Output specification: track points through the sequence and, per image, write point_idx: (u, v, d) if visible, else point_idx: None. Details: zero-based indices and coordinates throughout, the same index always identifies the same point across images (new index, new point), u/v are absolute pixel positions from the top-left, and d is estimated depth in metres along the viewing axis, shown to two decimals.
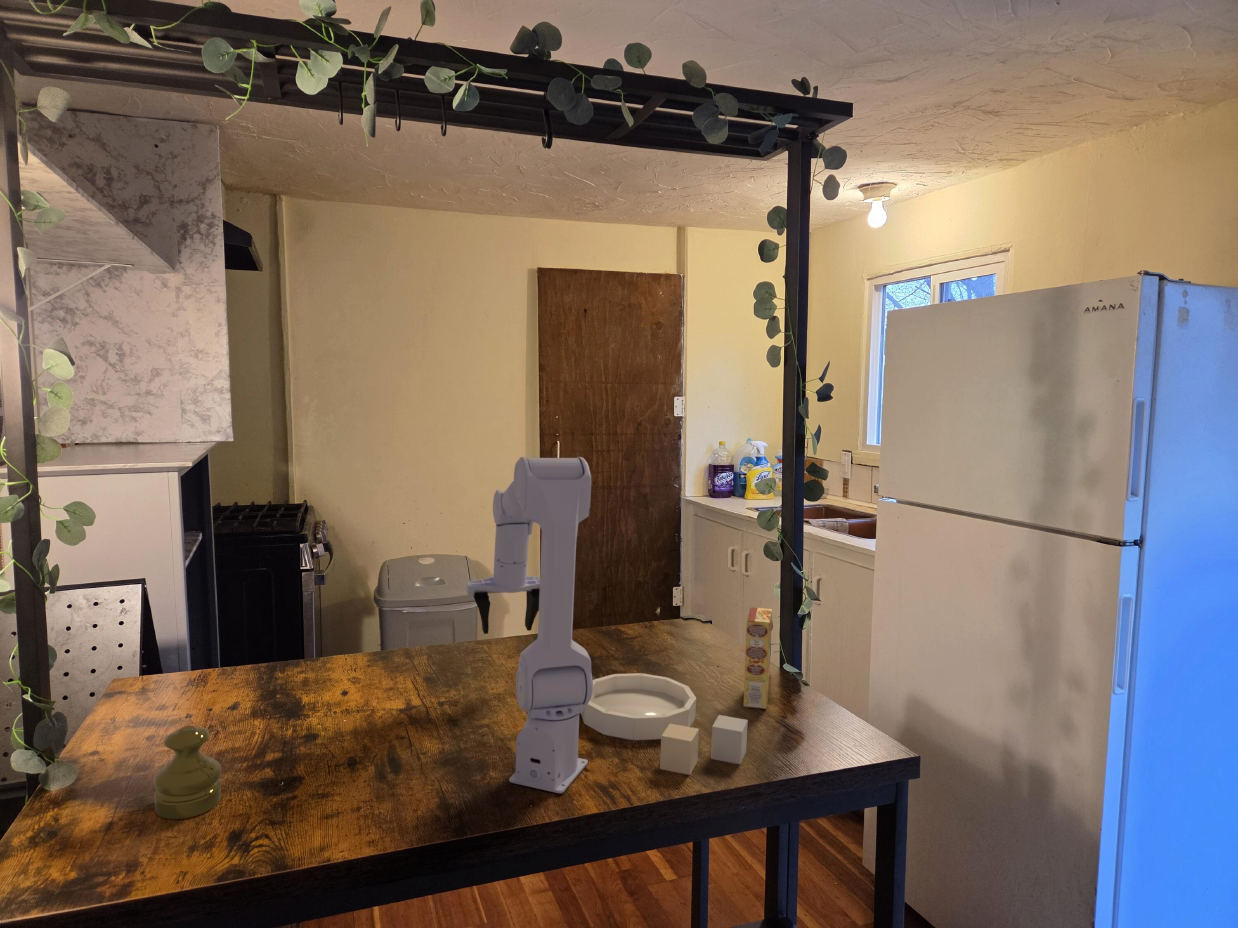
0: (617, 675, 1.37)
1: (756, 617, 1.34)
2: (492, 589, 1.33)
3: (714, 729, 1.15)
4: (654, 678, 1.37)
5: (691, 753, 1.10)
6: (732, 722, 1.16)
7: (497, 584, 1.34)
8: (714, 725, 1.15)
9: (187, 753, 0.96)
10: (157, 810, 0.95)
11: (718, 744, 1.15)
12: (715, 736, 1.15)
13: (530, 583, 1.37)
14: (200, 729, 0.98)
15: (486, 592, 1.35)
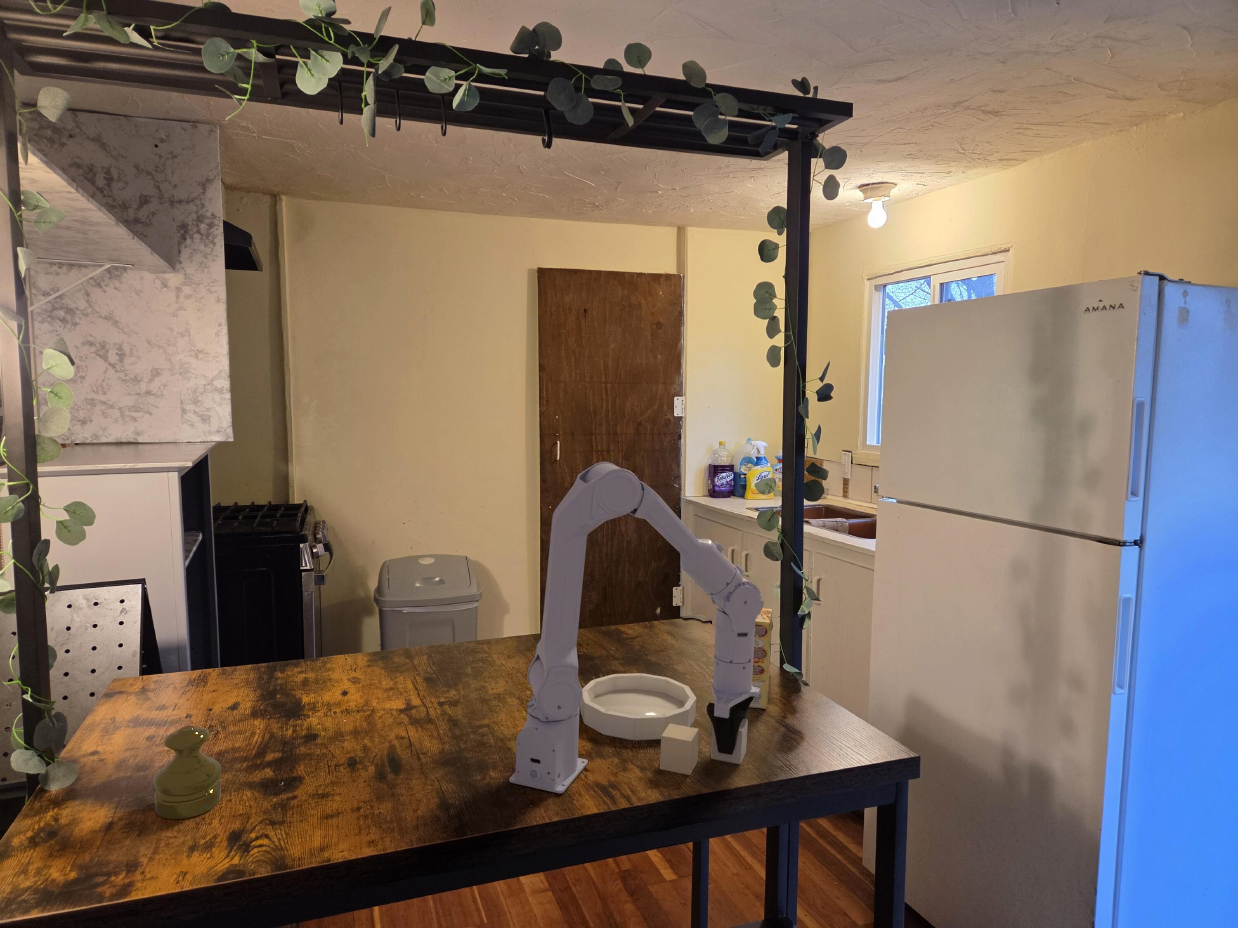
0: (617, 675, 1.37)
1: None
2: None
3: None
4: (654, 678, 1.37)
5: (691, 753, 1.10)
6: None
7: None
8: None
9: (187, 753, 0.96)
10: (157, 810, 0.95)
11: None
12: None
13: (724, 697, 1.12)
14: (200, 729, 0.98)
15: None
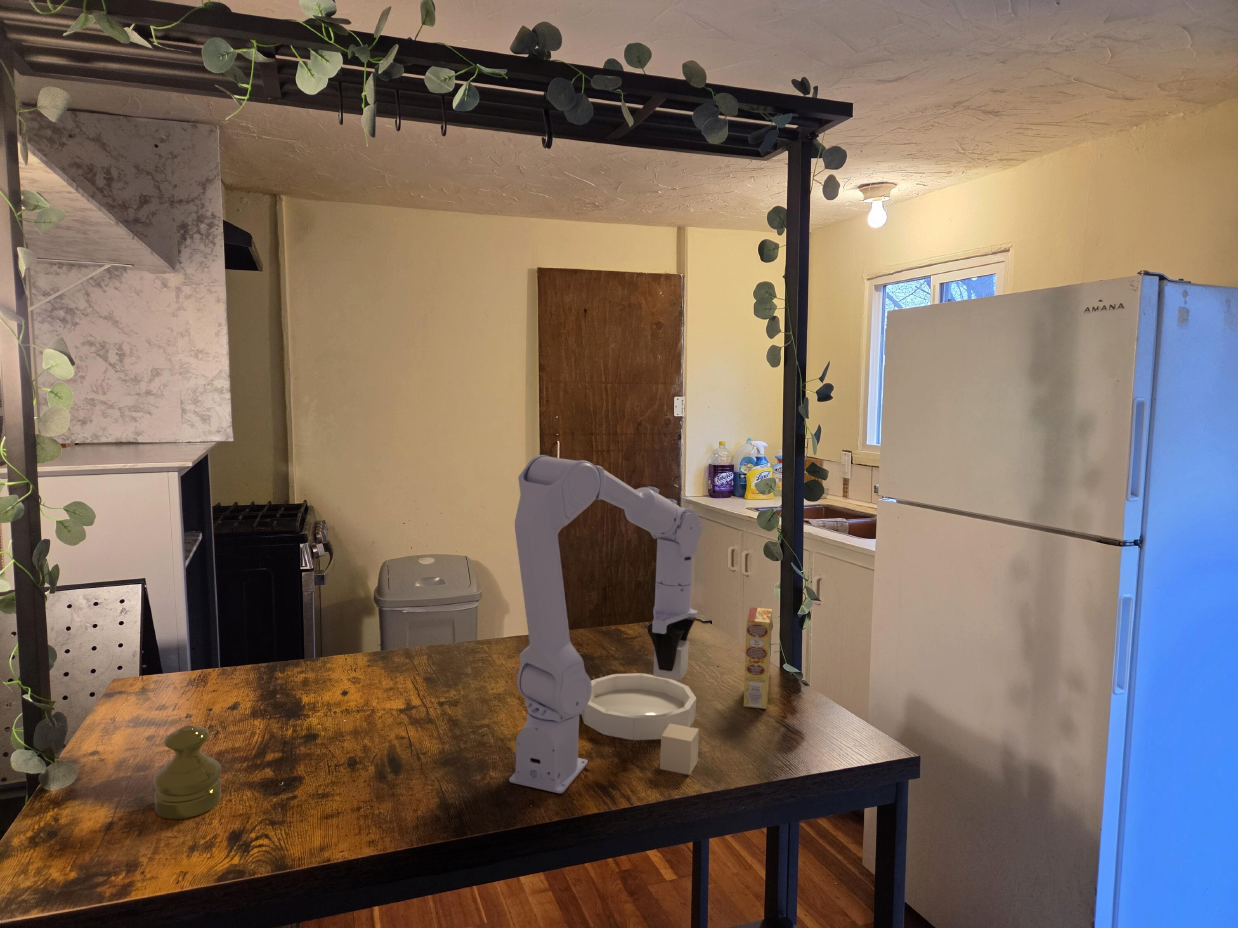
0: (617, 675, 1.37)
1: (756, 617, 1.34)
2: None
3: None
4: (654, 678, 1.37)
5: (691, 753, 1.10)
6: None
7: None
8: None
9: (187, 753, 0.96)
10: (157, 810, 0.95)
11: None
12: None
13: None
14: (200, 729, 0.98)
15: None
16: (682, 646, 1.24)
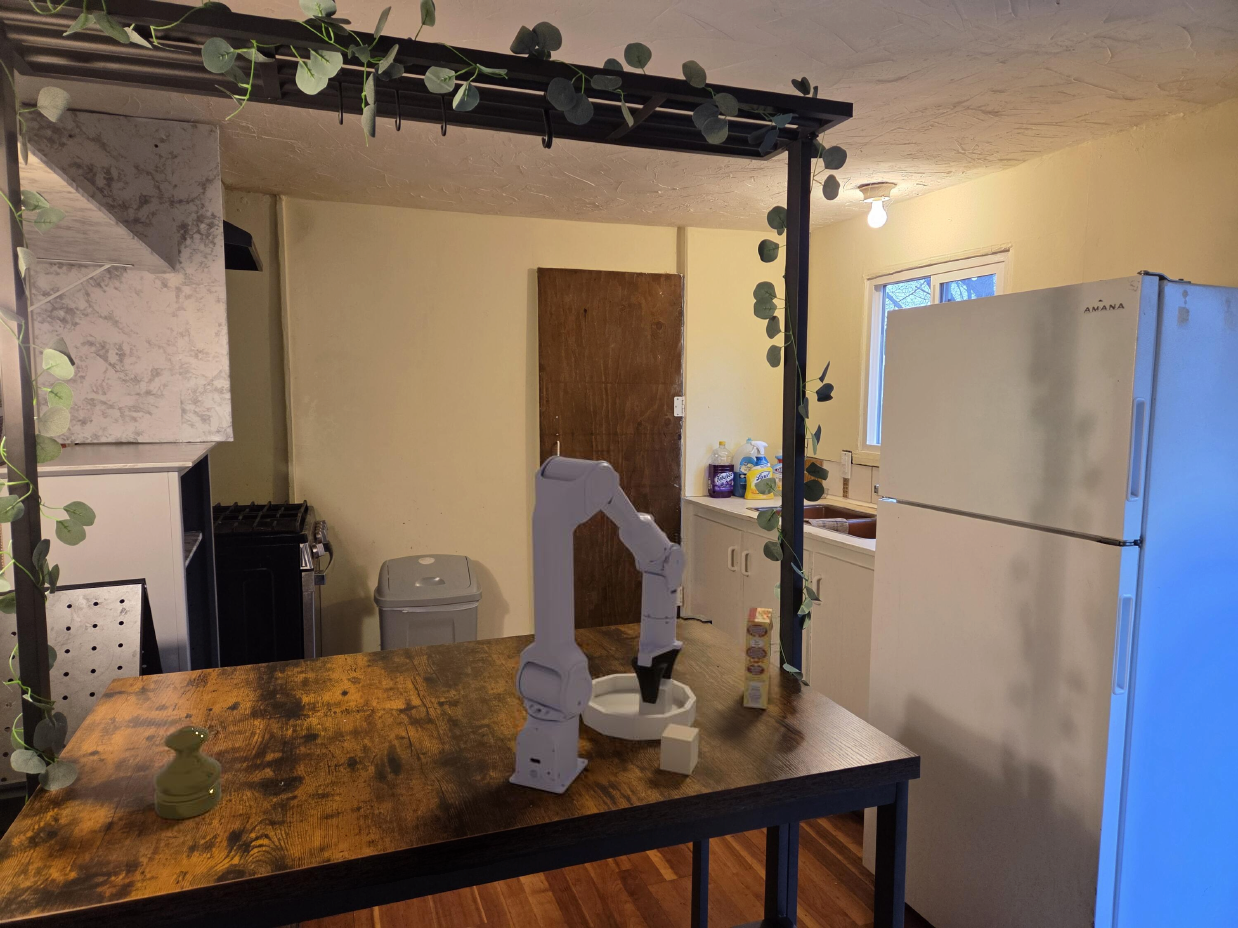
0: (617, 675, 1.37)
1: (756, 617, 1.34)
2: None
3: None
4: None
5: (691, 753, 1.10)
6: None
7: None
8: None
9: (187, 753, 0.96)
10: (157, 810, 0.95)
11: None
12: None
13: None
14: (200, 729, 0.98)
15: None
16: (666, 685, 1.27)
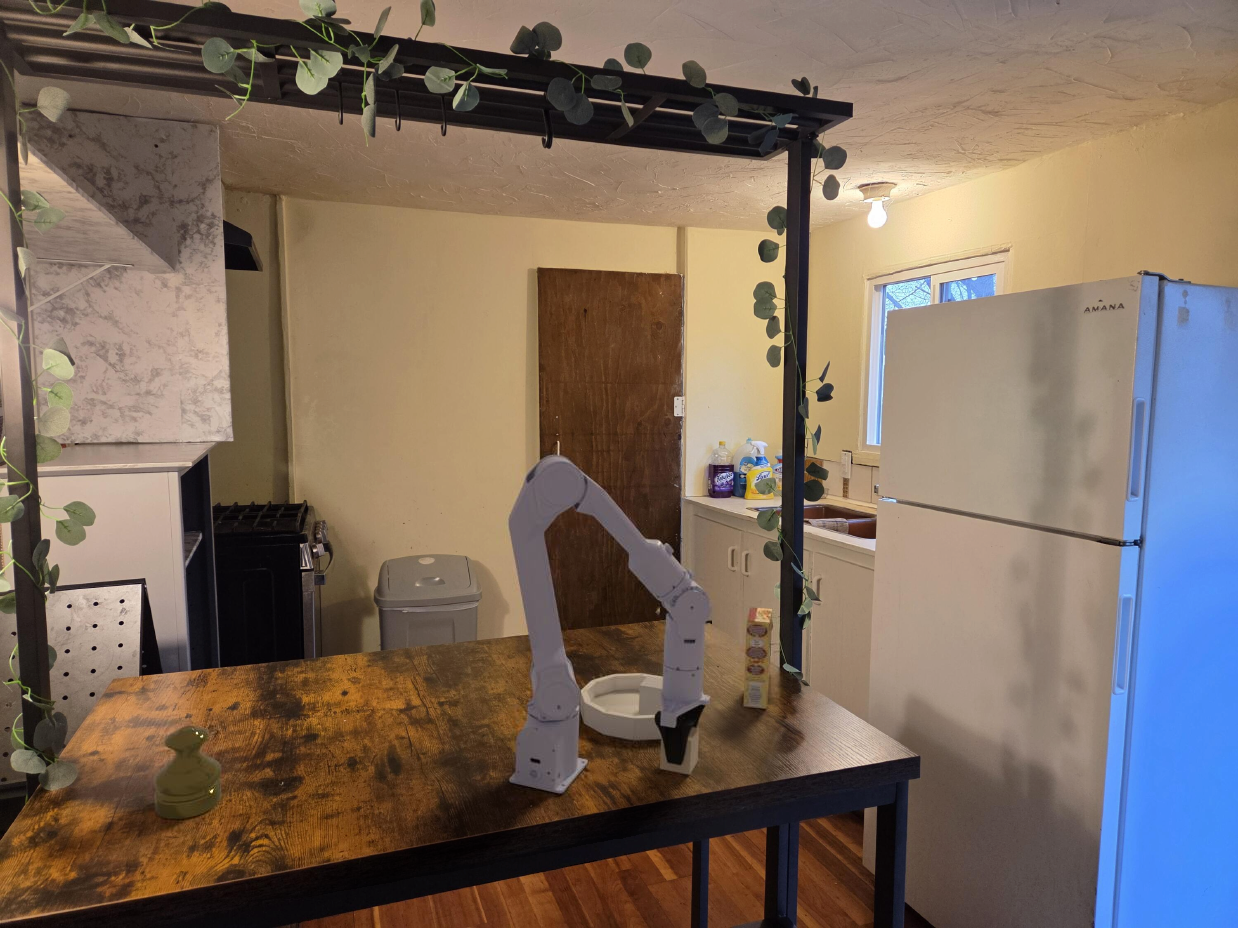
0: (617, 675, 1.37)
1: (756, 617, 1.34)
2: None
3: (641, 687, 1.27)
4: None
5: (691, 752, 1.10)
6: (659, 681, 1.28)
7: None
8: (641, 684, 1.27)
9: (187, 753, 0.96)
10: (157, 810, 0.95)
11: (644, 701, 1.27)
12: (642, 694, 1.27)
13: None
14: (200, 729, 0.98)
15: None
16: None
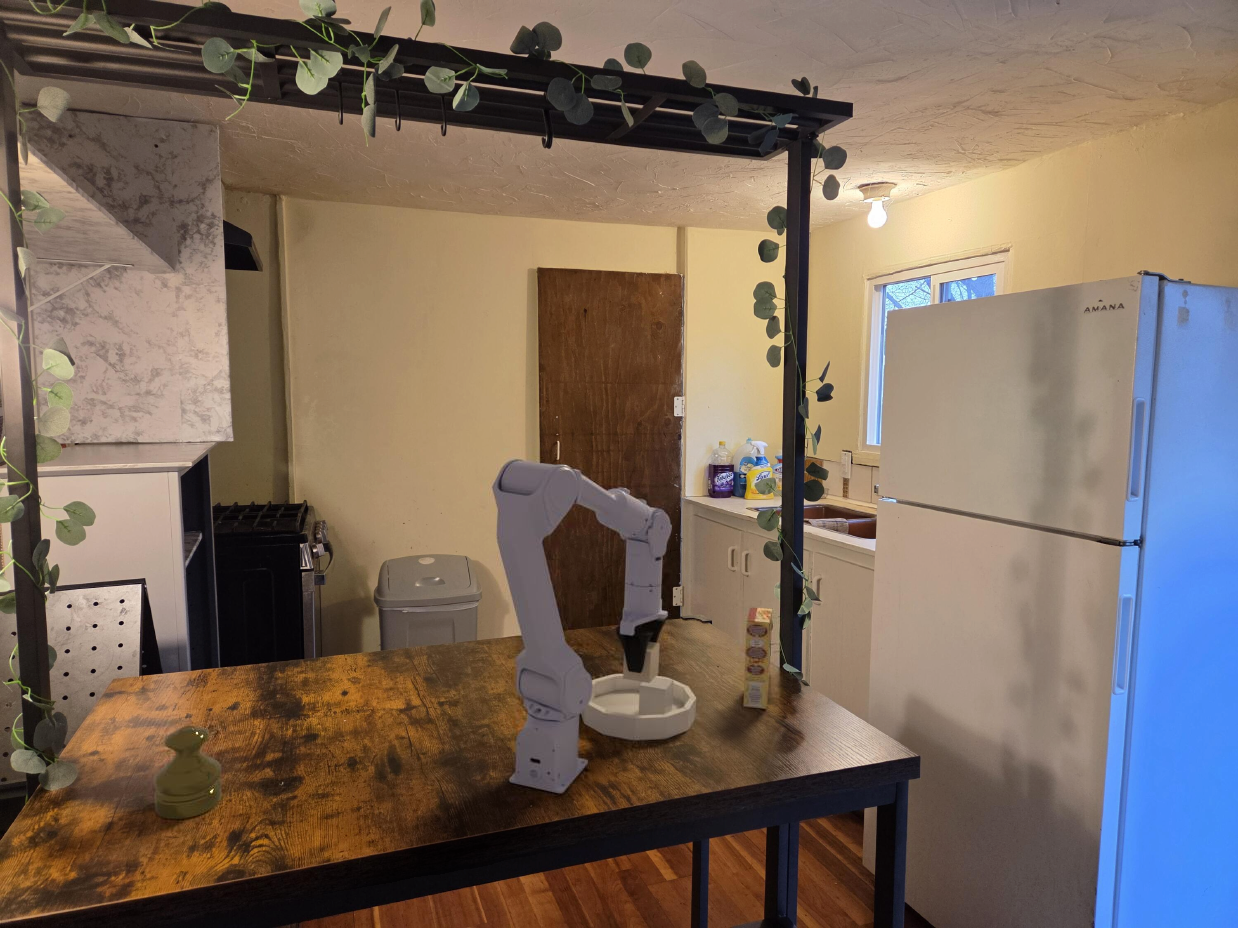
0: (617, 675, 1.37)
1: (756, 617, 1.34)
2: None
3: (641, 687, 1.27)
4: None
5: (651, 663, 1.21)
6: (659, 681, 1.28)
7: None
8: (641, 684, 1.27)
9: (187, 753, 0.96)
10: (157, 810, 0.95)
11: (644, 701, 1.27)
12: (642, 694, 1.27)
13: None
14: (200, 729, 0.98)
15: None
16: (666, 685, 1.27)
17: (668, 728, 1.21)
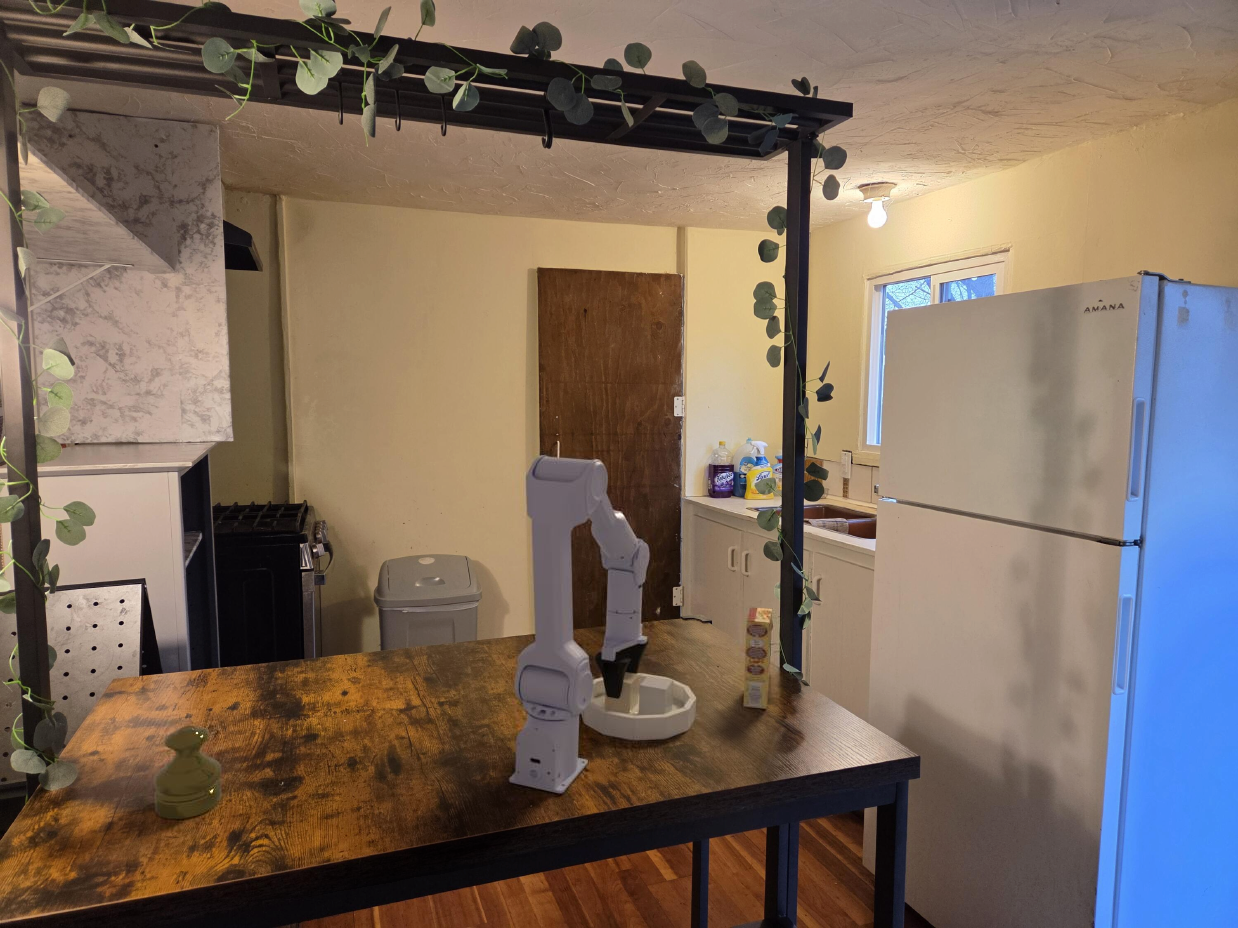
0: None
1: (756, 617, 1.34)
2: None
3: (641, 687, 1.27)
4: None
5: (631, 694, 1.28)
6: (659, 681, 1.28)
7: None
8: (641, 684, 1.27)
9: (187, 753, 0.96)
10: (157, 810, 0.95)
11: (644, 701, 1.27)
12: (642, 694, 1.27)
13: None
14: (200, 729, 0.98)
15: None
16: (666, 685, 1.27)
17: (668, 728, 1.21)
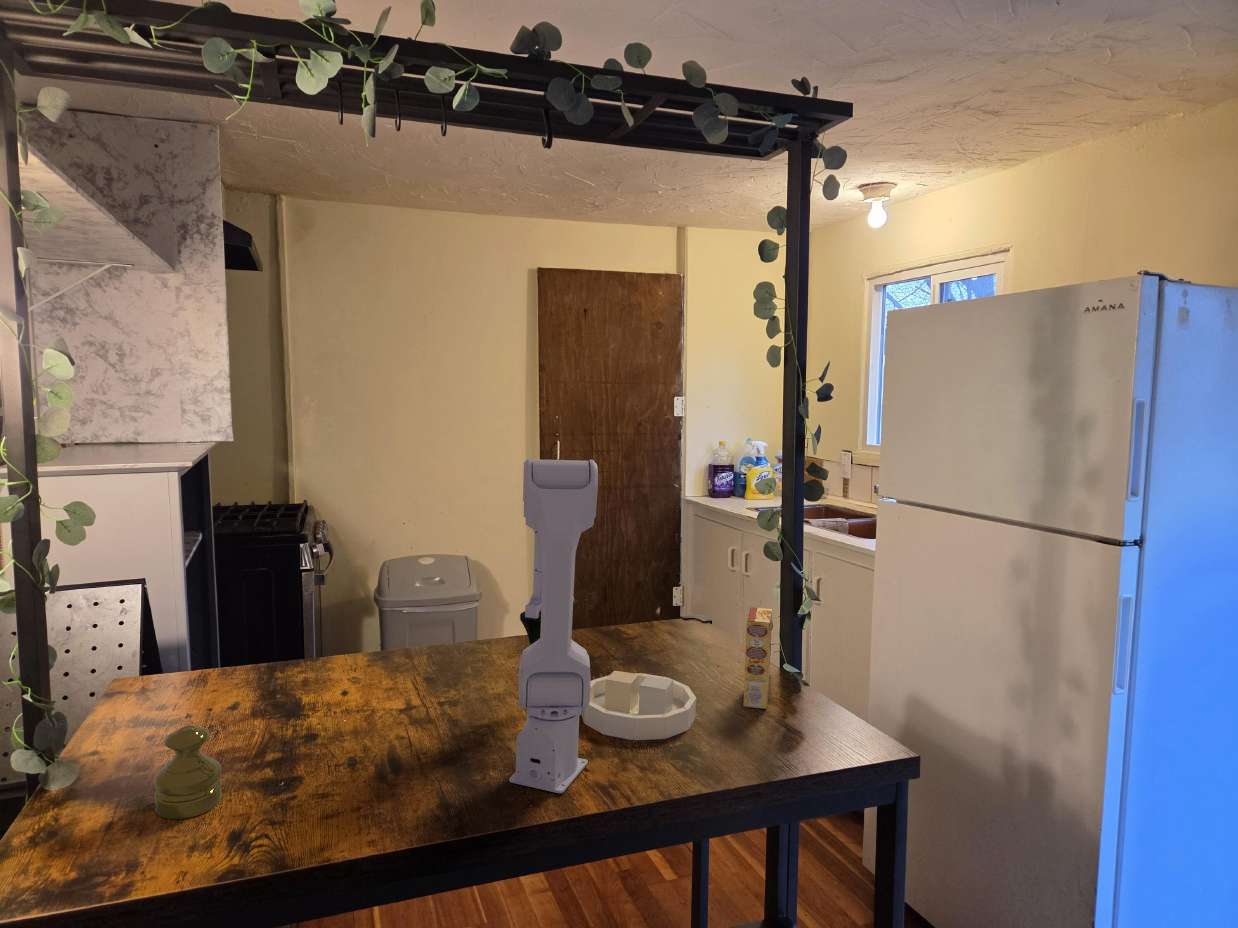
0: None
1: (756, 617, 1.34)
2: None
3: (641, 687, 1.27)
4: None
5: (631, 694, 1.28)
6: (659, 681, 1.28)
7: None
8: (641, 684, 1.27)
9: (187, 753, 0.96)
10: (157, 810, 0.95)
11: (644, 701, 1.27)
12: (642, 694, 1.27)
13: None
14: (200, 729, 0.98)
15: None
16: (666, 685, 1.27)
17: (668, 728, 1.21)
